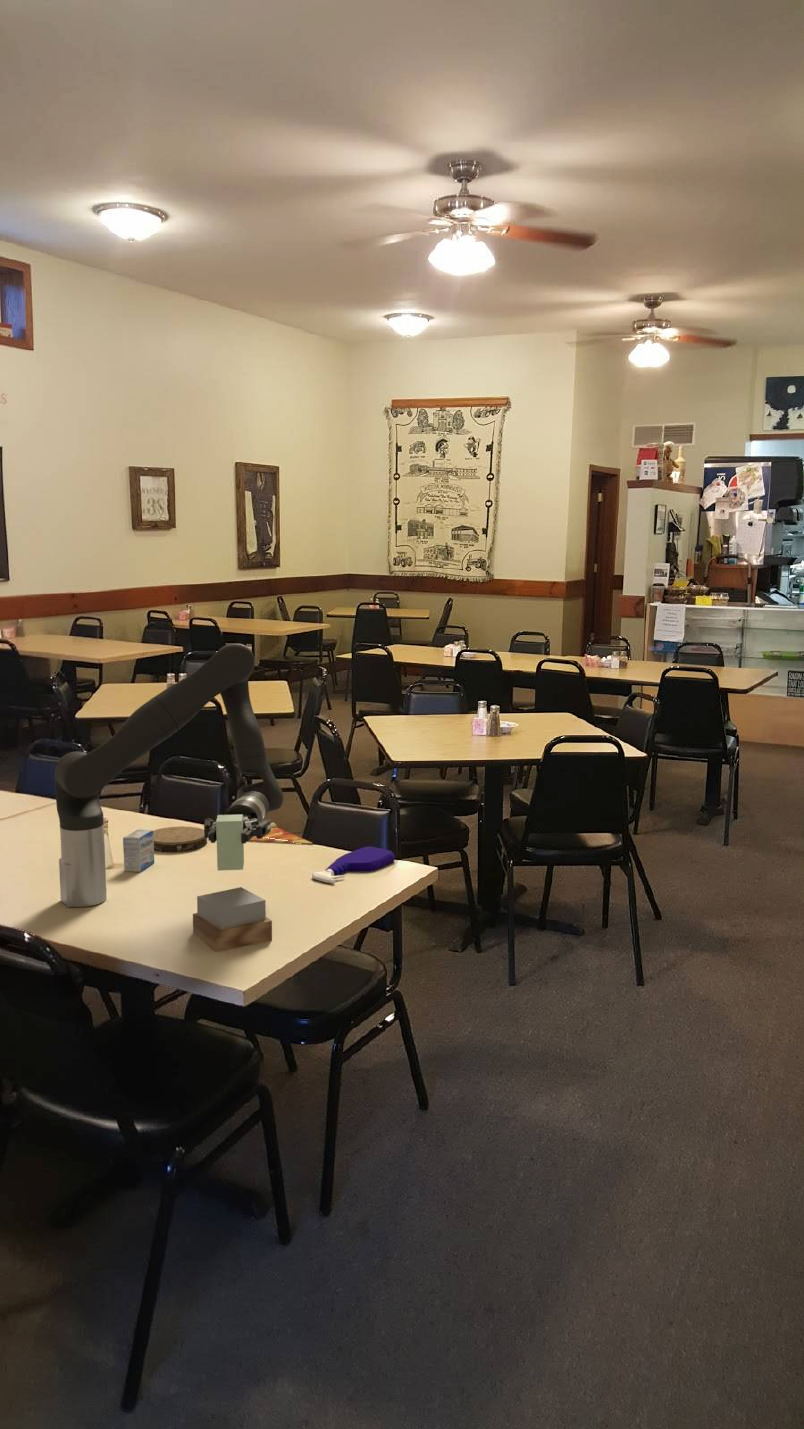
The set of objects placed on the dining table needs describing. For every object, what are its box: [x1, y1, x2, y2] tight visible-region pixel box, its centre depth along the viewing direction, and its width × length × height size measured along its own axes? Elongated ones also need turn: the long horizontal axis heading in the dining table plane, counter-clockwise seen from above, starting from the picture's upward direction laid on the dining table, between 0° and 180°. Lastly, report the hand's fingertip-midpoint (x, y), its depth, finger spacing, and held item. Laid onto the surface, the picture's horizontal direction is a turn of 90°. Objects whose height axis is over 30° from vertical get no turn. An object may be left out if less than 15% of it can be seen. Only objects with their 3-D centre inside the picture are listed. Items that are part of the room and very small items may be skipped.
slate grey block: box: [196, 886, 267, 930], centre depth 203 cm, size 10×10×4 cm
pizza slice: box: [246, 821, 314, 846], centre depth 274 cm, size 16×22×2 cm
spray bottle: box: [311, 845, 396, 885], centre depth 248 cm, size 3×11×24 cm
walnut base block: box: [192, 912, 273, 953], centre depth 204 cm, size 12×12×4 cm
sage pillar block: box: [215, 814, 245, 871], centre depth 202 cm, size 5×5×10 cm
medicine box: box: [122, 828, 155, 873], centre depth 248 cm, size 8×4×9 cm, turn 168°
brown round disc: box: [153, 826, 208, 854], centre depth 269 cm, size 16×16×3 cm
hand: (227, 838), depth 199 cm, fingers closed on sage pillar block, 5 cm apart
